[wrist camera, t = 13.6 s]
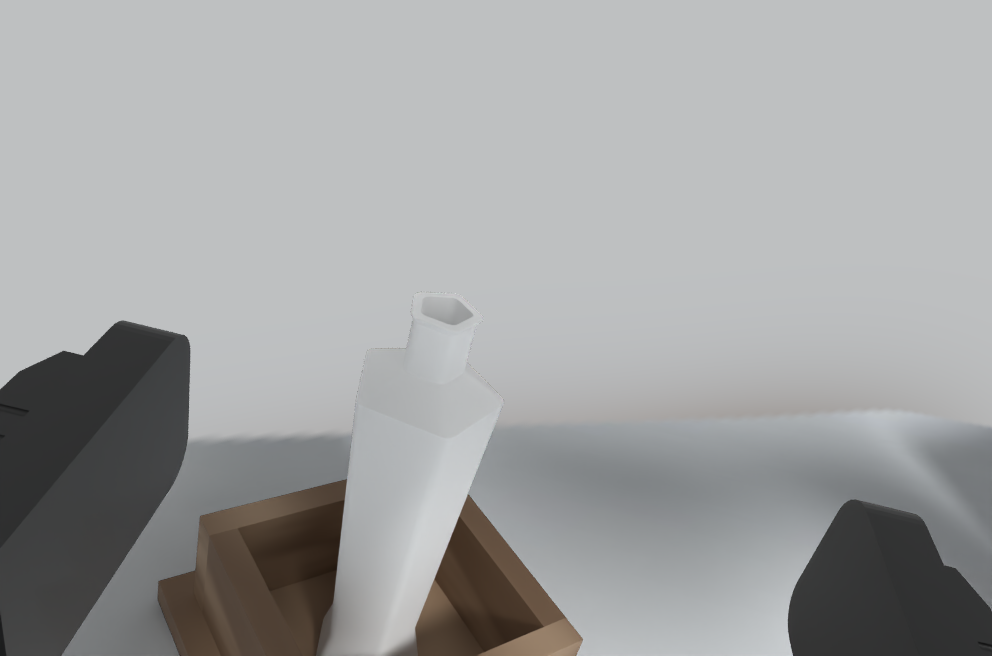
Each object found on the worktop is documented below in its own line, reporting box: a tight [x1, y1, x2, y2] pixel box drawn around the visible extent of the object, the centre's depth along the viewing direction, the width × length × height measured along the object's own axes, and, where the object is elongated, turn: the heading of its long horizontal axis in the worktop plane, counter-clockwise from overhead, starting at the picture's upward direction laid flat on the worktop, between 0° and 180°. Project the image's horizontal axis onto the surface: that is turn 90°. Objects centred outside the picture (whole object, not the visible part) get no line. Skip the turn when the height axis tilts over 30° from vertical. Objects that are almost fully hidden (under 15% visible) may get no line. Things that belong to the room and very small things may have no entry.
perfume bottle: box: [316, 292, 504, 656], centre depth 28 cm, size 5×4×15 cm
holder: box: [158, 479, 583, 656], centre depth 31 cm, size 12×12×5 cm
